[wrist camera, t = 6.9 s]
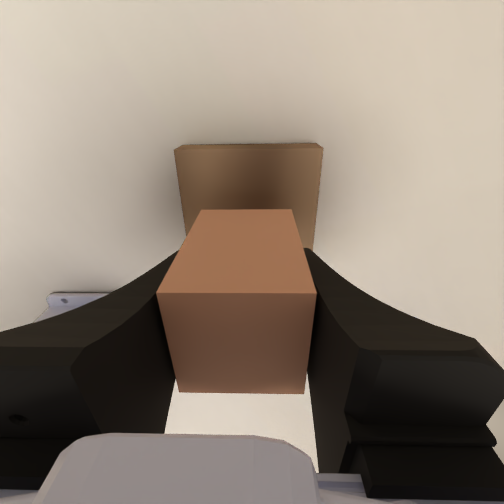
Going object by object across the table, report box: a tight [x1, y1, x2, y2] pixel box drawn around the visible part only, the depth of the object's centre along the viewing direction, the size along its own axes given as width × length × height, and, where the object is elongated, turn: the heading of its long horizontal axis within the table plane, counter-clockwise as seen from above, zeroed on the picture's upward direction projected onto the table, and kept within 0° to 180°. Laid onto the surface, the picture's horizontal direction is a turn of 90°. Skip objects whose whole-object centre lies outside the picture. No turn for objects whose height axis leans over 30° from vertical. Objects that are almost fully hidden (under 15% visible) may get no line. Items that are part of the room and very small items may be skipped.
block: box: [156, 209, 317, 394], centre depth 10 cm, size 4×4×6 cm
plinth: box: [174, 143, 323, 251], centre depth 17 cm, size 8×8×2 cm
